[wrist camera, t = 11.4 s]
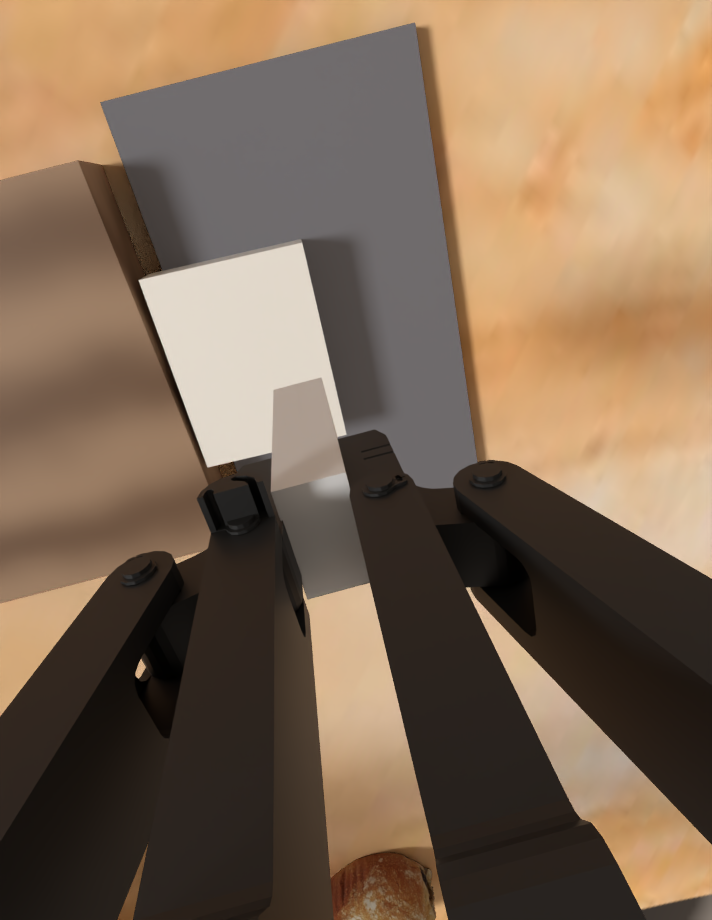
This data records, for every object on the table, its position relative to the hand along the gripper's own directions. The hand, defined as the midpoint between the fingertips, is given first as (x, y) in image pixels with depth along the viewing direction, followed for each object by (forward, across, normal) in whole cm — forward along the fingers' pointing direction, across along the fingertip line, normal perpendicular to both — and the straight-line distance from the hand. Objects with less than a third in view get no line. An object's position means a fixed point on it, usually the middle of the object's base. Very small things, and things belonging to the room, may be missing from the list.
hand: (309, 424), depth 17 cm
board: (+12, +13, 0) cm, 18 cm away
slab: (+11, +2, 0) cm, 11 cm away
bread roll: (+13, +6, +49) cm, 51 cm away
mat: (+12, -2, 0) cm, 12 cm away
